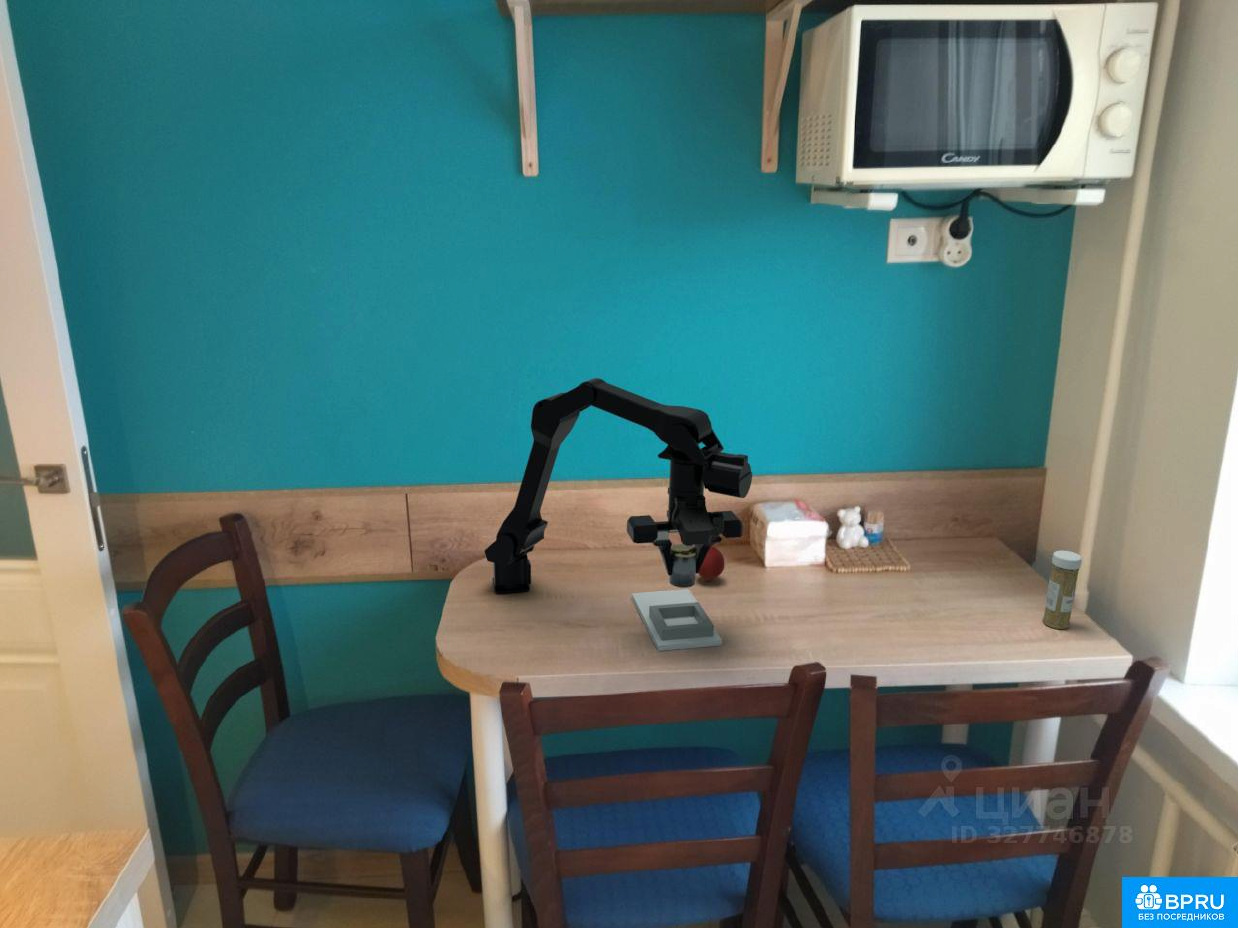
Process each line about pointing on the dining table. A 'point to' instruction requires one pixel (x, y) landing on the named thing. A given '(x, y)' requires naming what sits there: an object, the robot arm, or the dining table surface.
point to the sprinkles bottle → (1061, 589)
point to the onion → (712, 564)
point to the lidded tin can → (683, 566)
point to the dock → (675, 620)
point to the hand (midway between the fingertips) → (682, 573)
